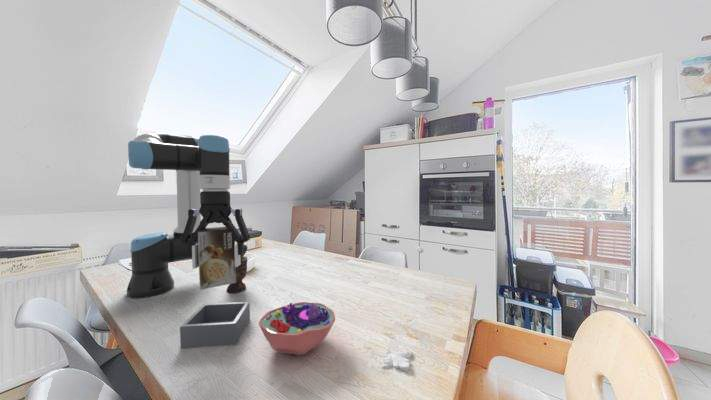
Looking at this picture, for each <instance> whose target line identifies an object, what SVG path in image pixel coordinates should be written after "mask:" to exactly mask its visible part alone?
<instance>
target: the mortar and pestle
mask: <svg viewBox="0 0 711 400" xmlns="http://www.w3.org/2000/svg"><path fill="white" fill-rule="evenodd" d="M247 251H248V245H246V244H244V253H243V254H242V255H240V257H241V264H240V265H239V266H238V267H236V283H232V284H228V285H227V287H226V292H227V293H230V294H232V293H241V292H243V291H245V290H246V289H247V286H246V283H244V282H243V280H244V278H245V277H246V274H247V271H248V257H247V256H245V255H246V253H247Z"/></svg>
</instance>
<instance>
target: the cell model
mask: <svg viewBox="0 0 711 400" xmlns="http://www.w3.org/2000/svg"><path fill="white" fill-rule="evenodd" d="M335 322H336V315H335V312H334V311H333V310H332V309H331V308H329V307H328V306H327V305H325V304H322V303H319V302H309V301H308V302H307V301H301V302H300V301H299V302H295V303H294V302H293V303H292V302H290V303H289V304H285V305H282V306H280V307H278V308H274V309H271V310H269V311H268V312H266V313H264V314H263V316H262V317H261V318H260V319H259V321H258V326H259V328H260V329H261V332H262V334H263V336H264V337H265V339H266V341H267V342H268V344H269V346H270V348H271V349H272V350H273V351H274V352H276V353H280V354H291V355H298V356H304V355H305V354H307V353H309V351H311V350H313V349H315V348H317V347H319V346H321V344H322V343H323V342H324V340H325V339H326V338H327V336H328V334H329V333H330V331H331V329H332V327H333V325H334V323H335Z"/></svg>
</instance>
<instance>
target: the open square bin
mask: <svg viewBox="0 0 711 400" xmlns="http://www.w3.org/2000/svg"><path fill="white" fill-rule="evenodd" d="M250 304H251V303H250V301H240V302H239V301H238V302H235V301H234V302H219V303H218V302H216V303H215V302H214V303H203V304H202V305H201V306H200V307H198V308H197V310H195V312H193V313H192V314H191V316H190V317H189V318H187V319H186V320H185V321H184V322H182V324H181V325H180V326H179V335H180V337H179V339H180V340H179V341H180V349H181V350H182V349H183V350H184V349H197V348H211V347H212V348H213V347H224V346H225V347H227V346H236V345H238V342H239V340H240V338H241V337H242V335H243V333H244V331H245V330H246V328H247V326H248V324H249V322H250V320H251V315H250V314H251V313H250V312H251V311H250V308H251V307H250V306H251V305H250Z"/></svg>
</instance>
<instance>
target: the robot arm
mask: <svg viewBox="0 0 711 400" xmlns="http://www.w3.org/2000/svg"><path fill="white" fill-rule="evenodd" d="M127 148H128V149H127V152H128V153H127V154H128V165H129V167H130V168H133V169H141V170H162V171H163V170H165V171H166V170H167V171H176V206H177V209H176V210H177V211H176V212H177V226H176V227H175V228H174V229H173V230H172V231H173V234H168V233H167V232H166V231H160V232H152V233H148V234H143V235H140V236H136V237H135V238H133V239H132V240H131V242H130V253H131V255H130V257H131V258H130V259H131V277H130V279H129V283H128V285H127V288H126V297H128V298H129V299H130V298H132V299H141V298H148V297H154V296H157V295H161V294H164V293H166V292H168V291H170V290H172V289H174V287H175V281H174V280H175V279H173V276H172V274H171V272H170V270H169V264H171V263H175V262H182V261H189V260H192V261H191V263H192V269H197V268H199V254H198V230H202V229H205V228H208V225H210V224H213V223H214V224H223V225H222V226H224V227H226V228H227V229H234V230H232V236H233V238H234V239H235V245H234V252H235V267H238V266H239V265H240V264H241V257H240V255H242V254H243V253H244V245H245V243H246V242H248V241H250V240H251V236H250V233H249V230H248V228H247V225H246V223H245V220H244V217H243V209H242V208H241V207H240V208H239V207H238V208H232V207H231V192H230V189H231V183H230V182H231V180H230V179H231V176H230V173H231V172H230V151H231V149H230V145H229V139H228V138H227V137H225V136H223V135H219V134H201V135H200V136H198V137H197V136H193V135H183V134H175V133H166V132H149V133H143V134H141V135H138V136H137V137H135V138H134V139H133V140H130V141H128V143H127ZM201 190H202V191H201ZM231 214H232V215H233V216H234V218H235V221H236V224H237V226H238V229H239V230H238V229H237V228H236V226H235V224H234V222H233V221H232V219H231V218H230V215H231Z"/></svg>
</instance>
